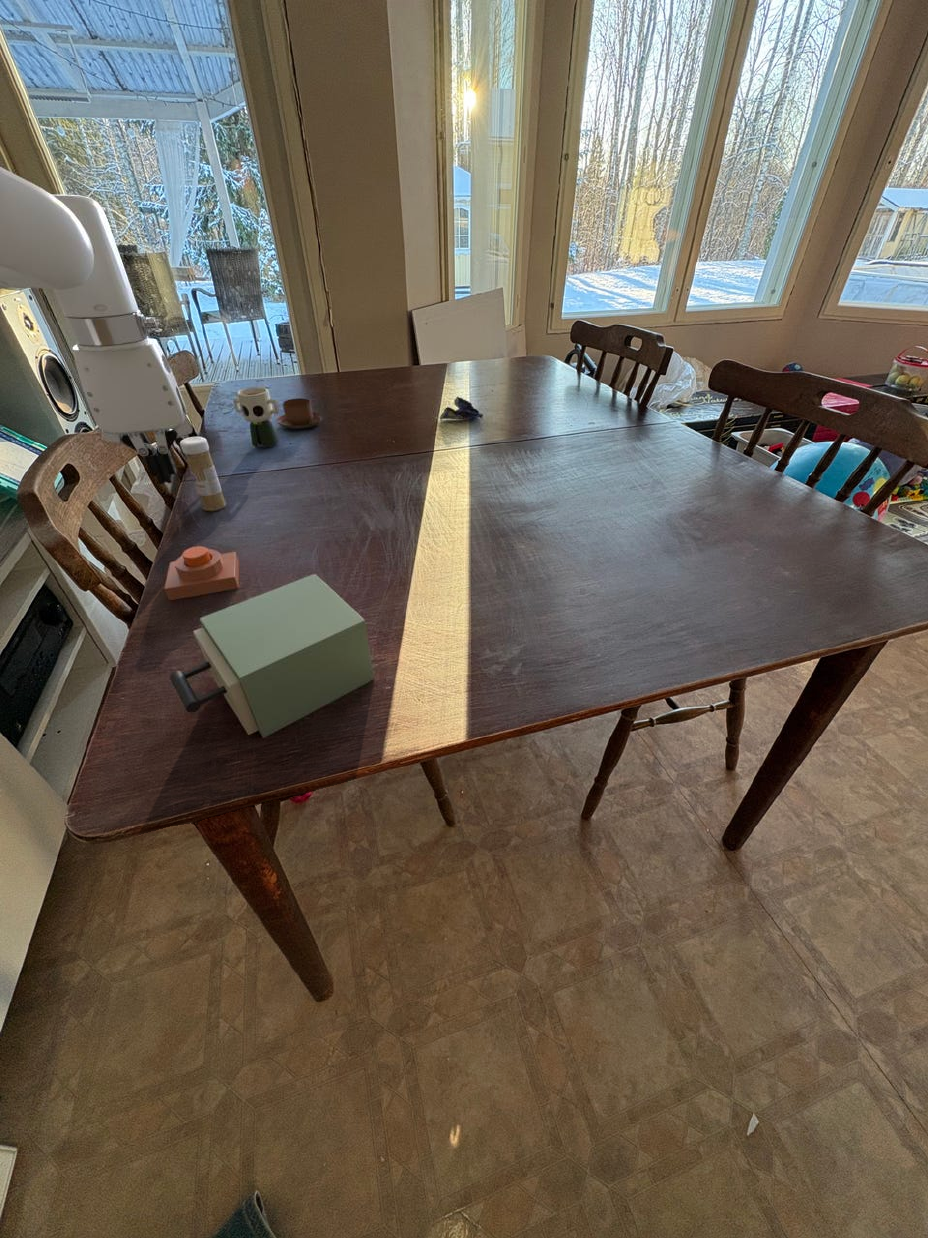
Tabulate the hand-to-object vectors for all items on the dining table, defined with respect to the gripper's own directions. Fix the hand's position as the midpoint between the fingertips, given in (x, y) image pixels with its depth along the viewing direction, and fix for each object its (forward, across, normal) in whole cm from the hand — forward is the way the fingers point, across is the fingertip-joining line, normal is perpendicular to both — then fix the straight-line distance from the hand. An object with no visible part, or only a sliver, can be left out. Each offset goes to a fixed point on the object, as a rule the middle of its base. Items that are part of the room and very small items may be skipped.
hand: (166, 479), depth 71 cm
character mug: (+17, -11, -60) cm, 64 cm away
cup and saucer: (+17, -21, -73) cm, 78 cm away
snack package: (+17, -65, -64) cm, 93 cm away
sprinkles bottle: (+17, 0, -28) cm, 33 cm away
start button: (+14, 0, 0) cm, 14 cm away
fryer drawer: (+16, -9, +29) cm, 34 cm away
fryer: (+17, -12, +27) cm, 35 cm away
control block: (+17, 0, 0) cm, 17 cm away
